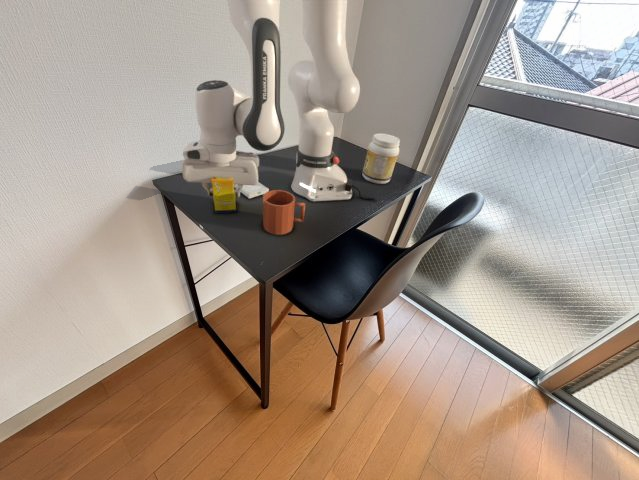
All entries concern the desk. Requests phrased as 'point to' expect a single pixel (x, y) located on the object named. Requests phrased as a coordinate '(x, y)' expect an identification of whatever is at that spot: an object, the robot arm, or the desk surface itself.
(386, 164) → the supplement tub
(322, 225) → the desk surface
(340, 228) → the desk surface
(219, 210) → the supplement box
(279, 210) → the mug
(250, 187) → the hard drive
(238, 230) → the desk surface
